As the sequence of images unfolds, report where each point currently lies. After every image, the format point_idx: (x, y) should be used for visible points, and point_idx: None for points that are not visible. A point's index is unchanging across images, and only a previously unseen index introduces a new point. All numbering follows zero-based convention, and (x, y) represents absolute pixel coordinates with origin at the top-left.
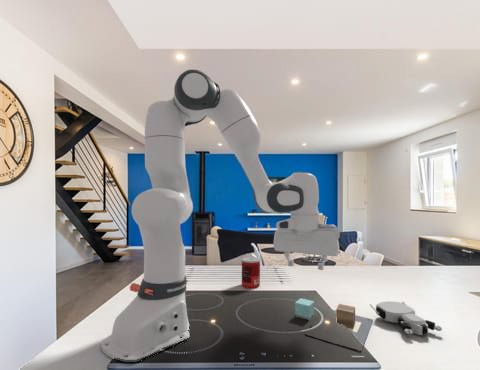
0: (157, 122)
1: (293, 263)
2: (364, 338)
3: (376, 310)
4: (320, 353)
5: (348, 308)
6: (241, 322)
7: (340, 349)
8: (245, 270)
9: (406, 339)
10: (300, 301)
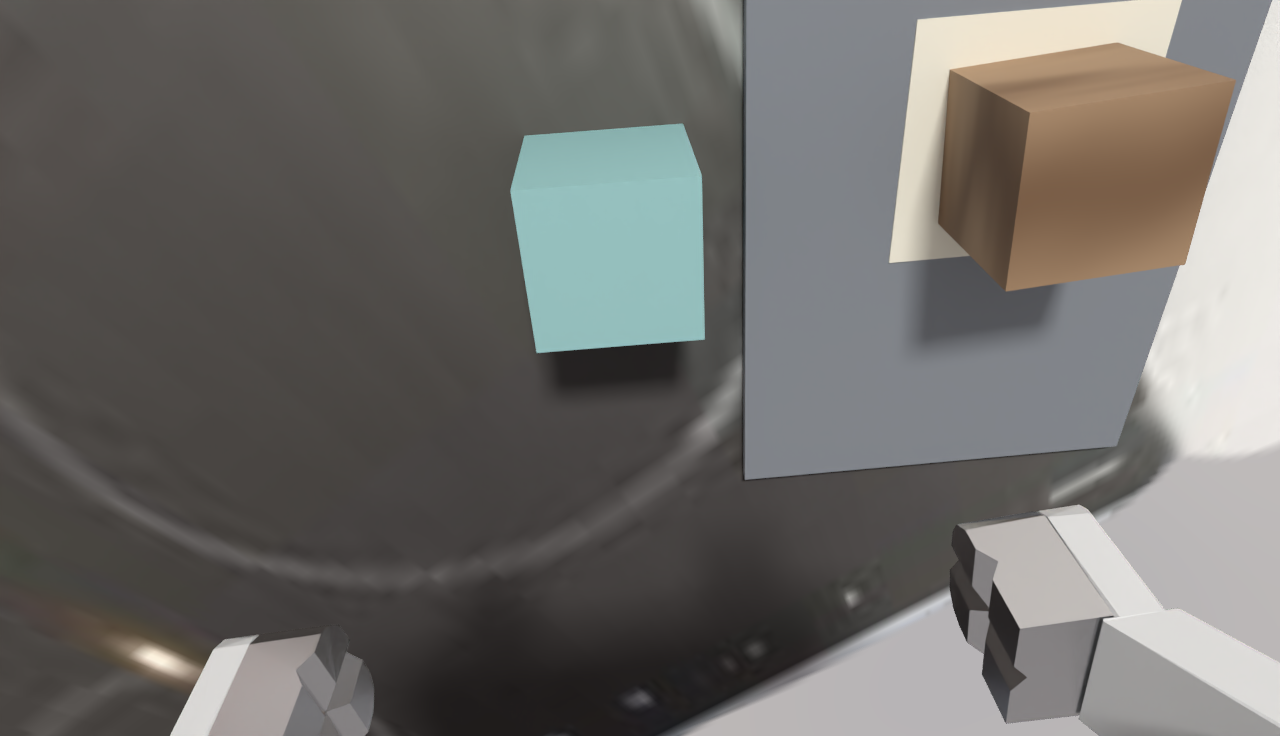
0: None
1: (318, 668)
2: (1160, 295)
3: None
4: (884, 567)
5: (1142, 188)
6: (302, 582)
7: (986, 480)
8: None
9: None
10: (566, 289)
